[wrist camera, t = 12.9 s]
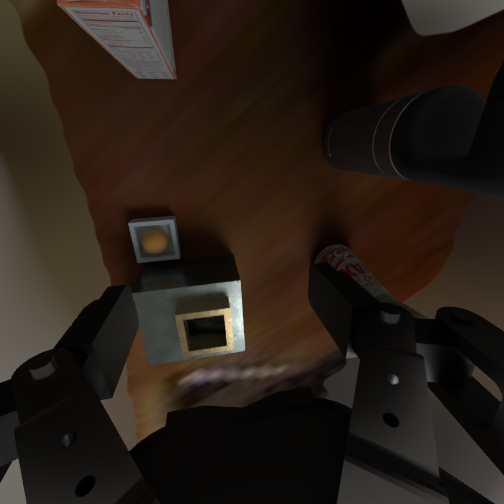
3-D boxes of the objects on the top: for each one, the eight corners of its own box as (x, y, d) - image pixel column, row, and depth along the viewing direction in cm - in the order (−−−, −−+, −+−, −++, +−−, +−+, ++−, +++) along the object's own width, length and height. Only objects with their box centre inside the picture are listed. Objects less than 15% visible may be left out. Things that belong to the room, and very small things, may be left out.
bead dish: (175, 215, 43) (173, 219, 41) (181, 253, 46) (179, 258, 44) (132, 219, 42) (128, 223, 40) (141, 257, 45) (137, 263, 43)
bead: (167, 225, 43) (163, 233, 39) (170, 247, 45) (167, 256, 41) (142, 227, 43) (136, 235, 39) (147, 249, 44) (142, 259, 40)
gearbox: (233, 255, 48) (242, 288, 37) (238, 316, 53) (247, 361, 42) (134, 265, 45) (110, 305, 34) (149, 328, 51) (133, 380, 39)
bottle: (306, 281, 53) (400, 404, 28) (316, 240, 50) (433, 338, 24) (343, 283, 55) (464, 400, 29) (355, 243, 52) (503, 338, 26)
